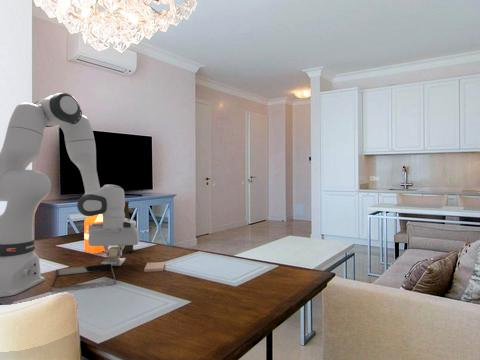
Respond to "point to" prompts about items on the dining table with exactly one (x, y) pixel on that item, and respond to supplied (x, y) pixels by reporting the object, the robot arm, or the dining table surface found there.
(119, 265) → the mat
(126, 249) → the beer bottle
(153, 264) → the tile
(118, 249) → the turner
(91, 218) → the orange juice
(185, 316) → the dining table surface
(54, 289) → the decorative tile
